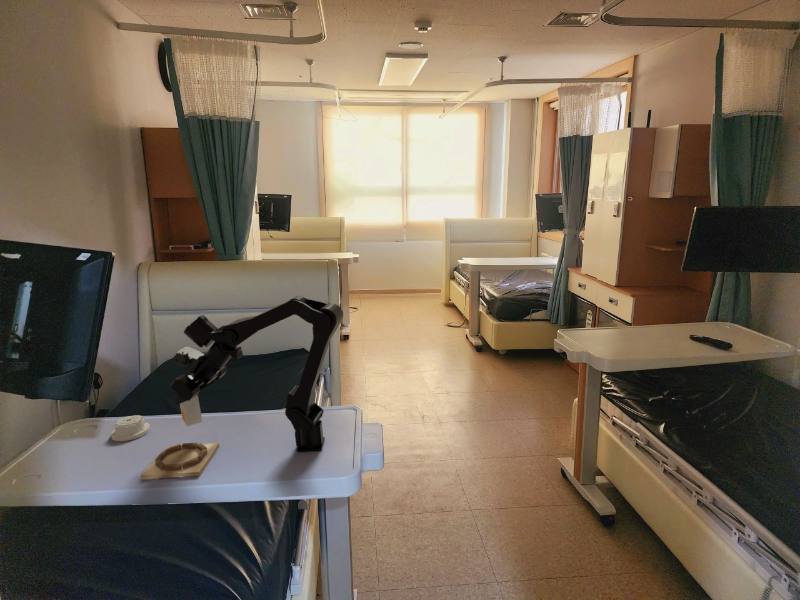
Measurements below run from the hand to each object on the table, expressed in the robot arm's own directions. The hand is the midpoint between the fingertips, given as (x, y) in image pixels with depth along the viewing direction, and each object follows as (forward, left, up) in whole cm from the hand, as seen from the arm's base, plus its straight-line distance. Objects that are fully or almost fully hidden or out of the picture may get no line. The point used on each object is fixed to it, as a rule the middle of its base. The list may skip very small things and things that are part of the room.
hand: (183, 398), depth 134 cm
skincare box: (-1, 0, -7) cm, 7 cm away
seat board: (-2, +11, -13) cm, 17 cm away
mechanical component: (+21, -8, -14) cm, 26 cm away
